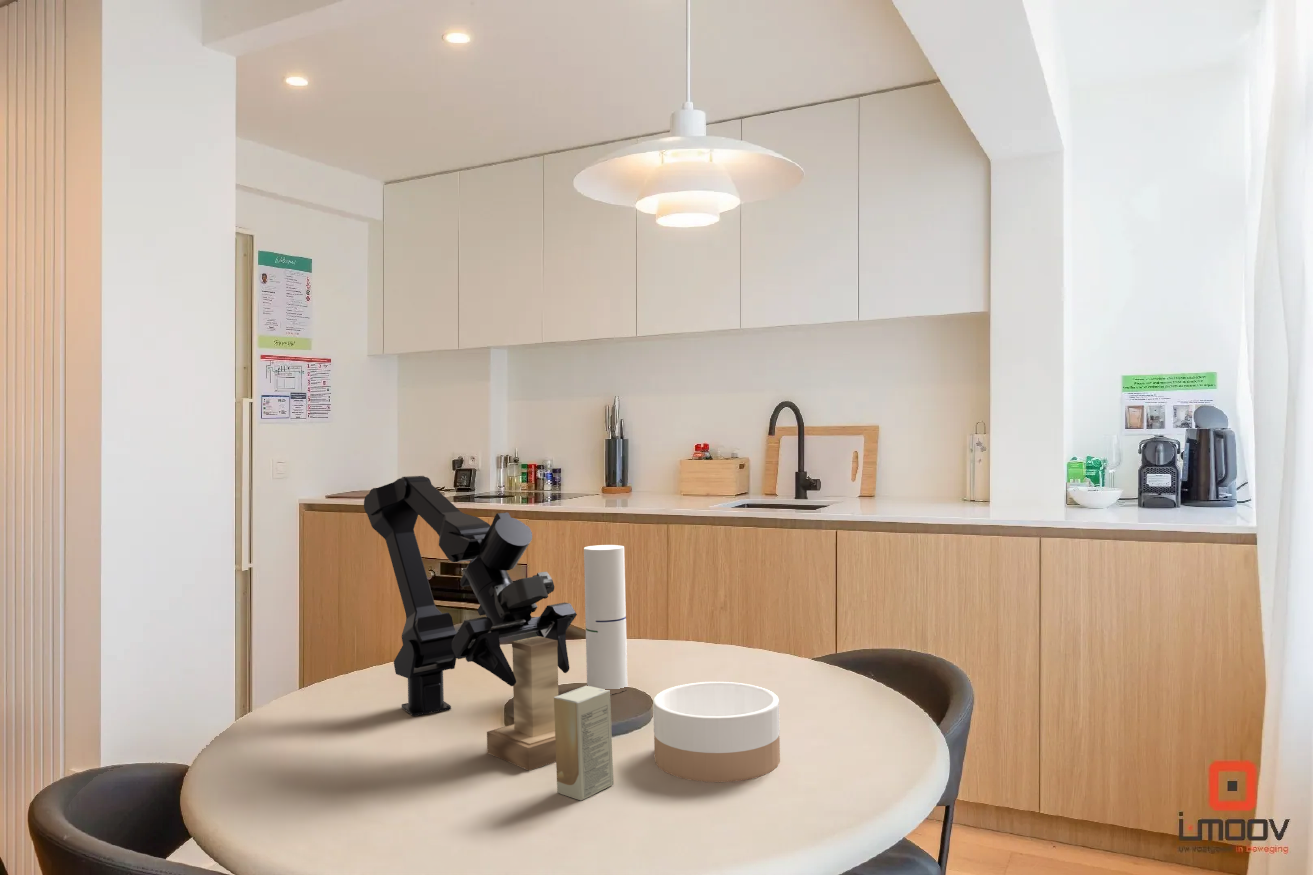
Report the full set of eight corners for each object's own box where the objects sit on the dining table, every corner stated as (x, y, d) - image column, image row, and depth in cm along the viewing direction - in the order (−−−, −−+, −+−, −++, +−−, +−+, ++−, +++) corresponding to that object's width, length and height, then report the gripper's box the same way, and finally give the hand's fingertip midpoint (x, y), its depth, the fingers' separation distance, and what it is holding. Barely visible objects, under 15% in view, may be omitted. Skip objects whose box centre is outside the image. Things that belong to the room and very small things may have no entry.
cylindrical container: (622, 695, 153) (618, 549, 154) (582, 693, 155) (578, 549, 155) (631, 683, 160) (628, 544, 161) (593, 682, 162) (590, 544, 162)
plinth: (487, 752, 126) (486, 730, 126) (544, 735, 133) (543, 714, 133) (529, 770, 119) (528, 746, 119) (587, 751, 126) (586, 728, 126)
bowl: (637, 748, 127) (635, 689, 127) (745, 731, 133) (744, 675, 133) (683, 791, 111) (681, 724, 111) (804, 770, 117) (802, 707, 117)
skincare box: (589, 777, 116) (587, 683, 116) (614, 785, 113) (612, 689, 113) (554, 793, 111) (551, 695, 111) (579, 802, 108) (577, 701, 108)
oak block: (513, 729, 126) (511, 641, 126) (540, 722, 129) (538, 635, 129) (533, 737, 123) (531, 646, 123) (559, 729, 126) (557, 640, 126)
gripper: (460, 562, 123) (508, 655, 115) (567, 548, 136) (617, 631, 128) (432, 612, 128) (476, 704, 120) (537, 595, 141) (583, 677, 133)
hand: (541, 677), depth 125 cm, fingers open, 9 cm apart
